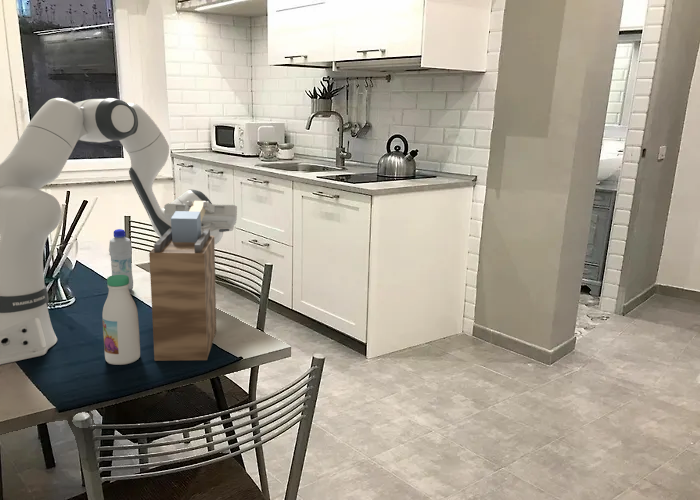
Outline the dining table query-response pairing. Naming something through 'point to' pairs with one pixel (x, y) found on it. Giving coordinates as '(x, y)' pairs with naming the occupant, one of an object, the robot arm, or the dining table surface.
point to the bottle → (121, 256)
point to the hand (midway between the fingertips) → (197, 203)
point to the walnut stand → (183, 297)
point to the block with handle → (188, 223)
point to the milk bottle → (120, 323)
